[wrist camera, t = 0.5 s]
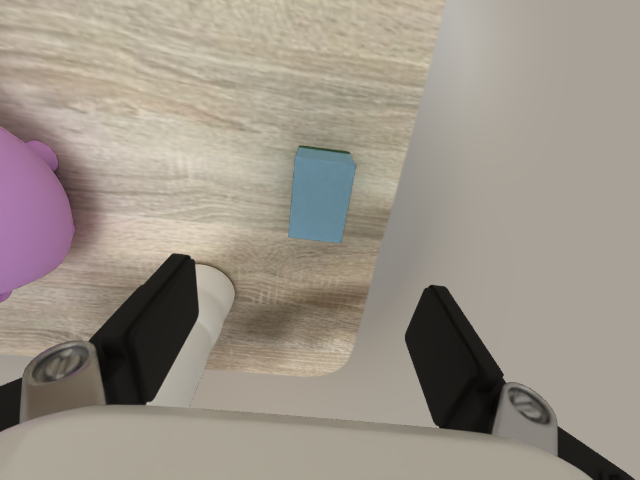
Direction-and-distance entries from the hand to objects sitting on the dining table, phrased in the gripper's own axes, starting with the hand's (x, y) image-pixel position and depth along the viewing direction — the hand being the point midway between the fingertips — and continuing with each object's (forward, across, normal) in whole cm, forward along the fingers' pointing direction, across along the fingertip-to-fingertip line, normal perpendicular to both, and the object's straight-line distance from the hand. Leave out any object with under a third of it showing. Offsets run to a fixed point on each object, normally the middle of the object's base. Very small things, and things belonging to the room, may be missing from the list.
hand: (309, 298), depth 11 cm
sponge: (+16, 0, 0) cm, 16 cm away
